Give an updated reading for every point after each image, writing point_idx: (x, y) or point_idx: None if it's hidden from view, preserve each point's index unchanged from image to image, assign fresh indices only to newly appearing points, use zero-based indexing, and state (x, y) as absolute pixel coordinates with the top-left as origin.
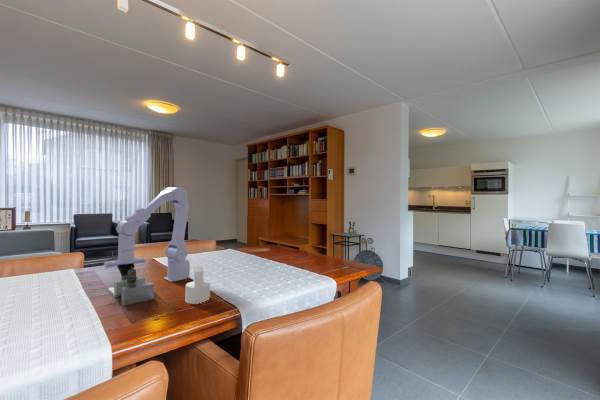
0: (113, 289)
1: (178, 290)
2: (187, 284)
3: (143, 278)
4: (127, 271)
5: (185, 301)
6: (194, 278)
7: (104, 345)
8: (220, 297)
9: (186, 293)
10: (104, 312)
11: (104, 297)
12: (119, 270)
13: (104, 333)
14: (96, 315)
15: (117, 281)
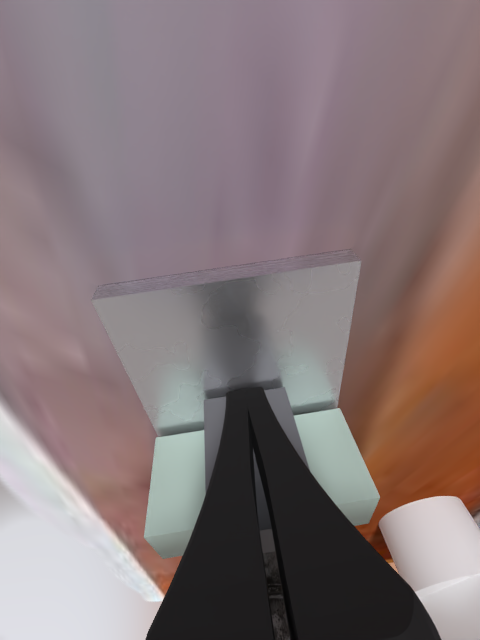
0: (147, 353)
1: (458, 443)
2: (430, 587)
3: (357, 523)
4: (279, 572)
5: (382, 518)
6: (451, 636)
7: (153, 596)
8: (472, 516)
9: (396, 558)
10: (133, 527)
11: (101, 412)
12: (187, 562)
13: (148, 581)
14: (110, 536)
15: (169, 539)
